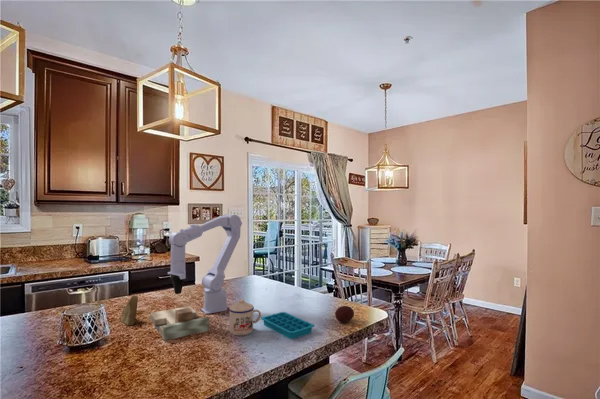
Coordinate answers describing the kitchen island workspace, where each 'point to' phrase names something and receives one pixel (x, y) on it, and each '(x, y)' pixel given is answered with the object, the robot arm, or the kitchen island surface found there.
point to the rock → (130, 311)
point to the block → (183, 315)
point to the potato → (344, 313)
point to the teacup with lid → (242, 318)
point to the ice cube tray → (287, 325)
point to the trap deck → (177, 324)
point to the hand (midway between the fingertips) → (177, 293)
